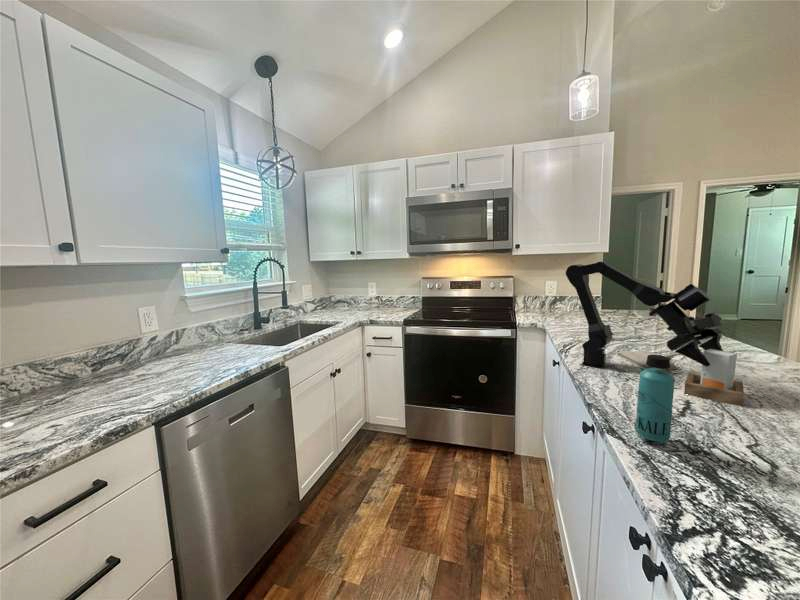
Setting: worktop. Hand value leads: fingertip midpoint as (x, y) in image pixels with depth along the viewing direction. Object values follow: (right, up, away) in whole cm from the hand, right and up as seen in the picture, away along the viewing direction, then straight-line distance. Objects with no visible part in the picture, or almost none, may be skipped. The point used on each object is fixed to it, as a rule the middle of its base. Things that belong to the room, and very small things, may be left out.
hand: (717, 363), depth 95 cm
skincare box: (0, -9, +1) cm, 9 cm away
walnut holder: (0, -9, +2) cm, 9 cm away
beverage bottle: (-35, -14, -21) cm, 43 cm away
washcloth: (+2, -6, +30) cm, 31 cm away
